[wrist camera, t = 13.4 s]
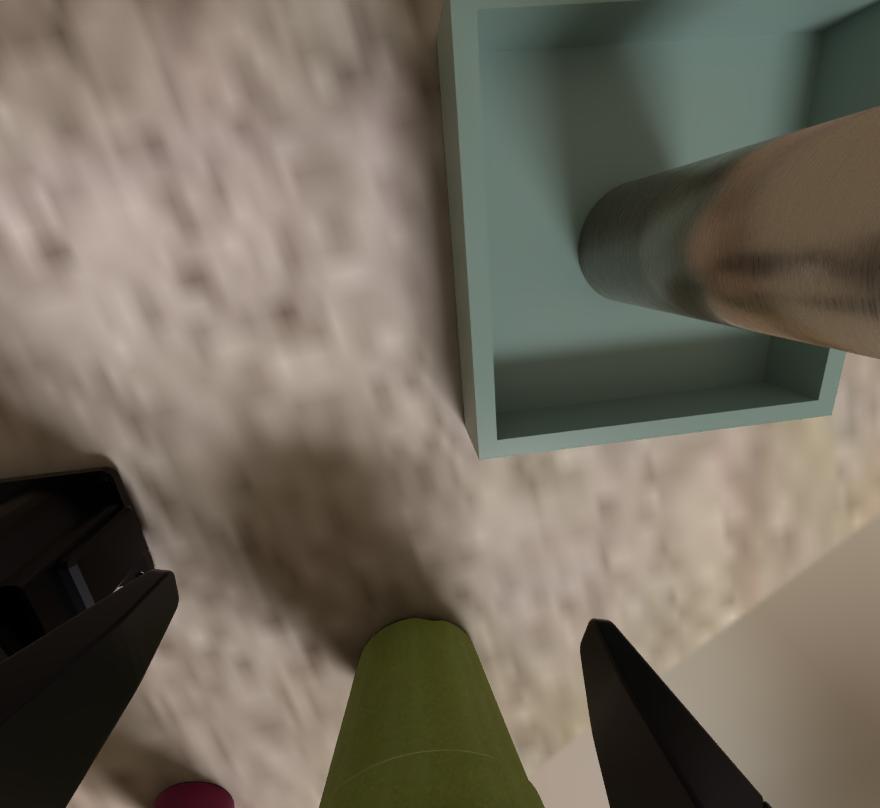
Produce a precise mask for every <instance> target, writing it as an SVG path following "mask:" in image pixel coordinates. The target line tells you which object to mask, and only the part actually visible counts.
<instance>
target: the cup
mask: <svg viewBox="0 0 880 808" xmlns="http://www.w3.org/2000/svg"><path fill="white" fill-rule="evenodd" d="M152 808H234V802H233V799H232V797H231V796H230V795H229V794H228V793H227V792H226V791H225V790H223V789H222V788H220V787H218V786H215V785H212V784H208V783H201V782H190V783H183V784H178V785H176V786H173V787H171V788H169V789H167V790H165V791H164V792H163V793H161V794H160V795H159V797H158V798H157V799H156V801H155V803H154V805H153V807H152Z"/></svg>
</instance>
